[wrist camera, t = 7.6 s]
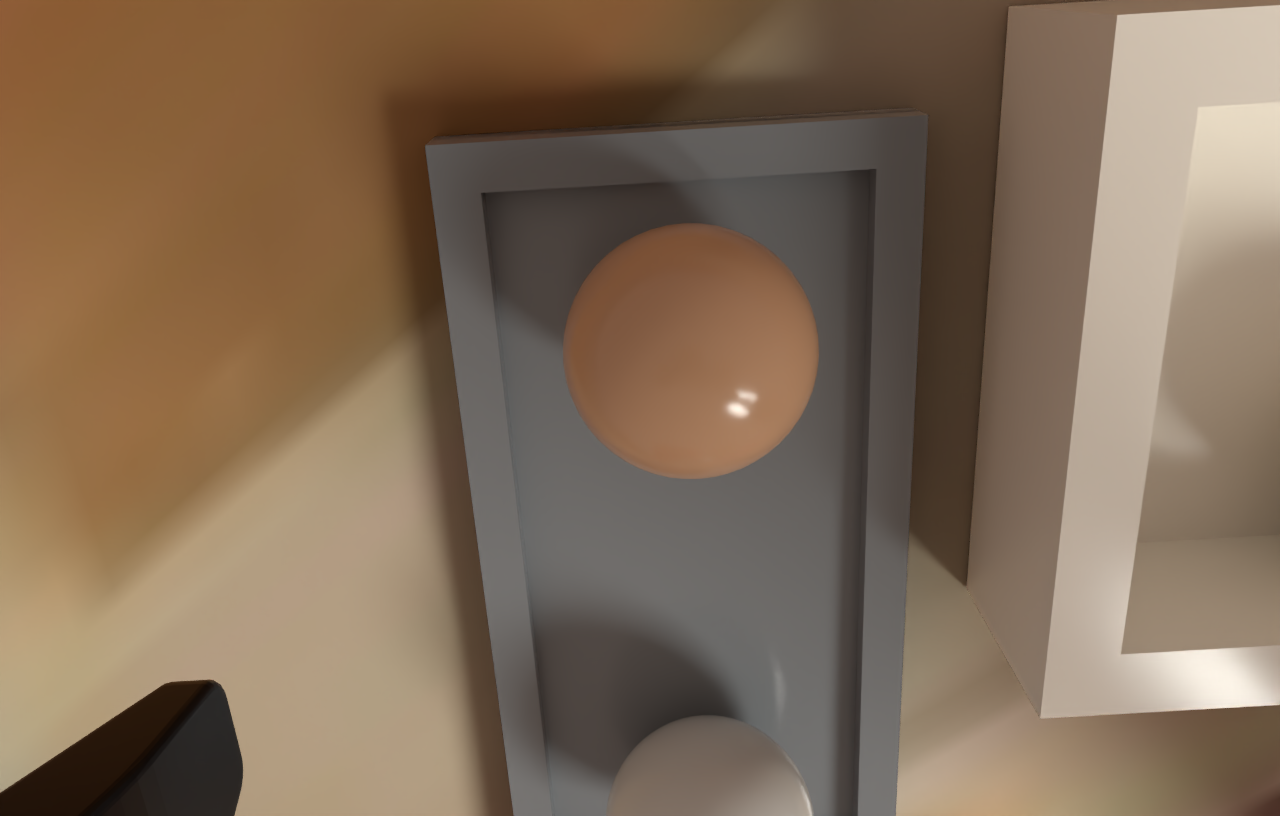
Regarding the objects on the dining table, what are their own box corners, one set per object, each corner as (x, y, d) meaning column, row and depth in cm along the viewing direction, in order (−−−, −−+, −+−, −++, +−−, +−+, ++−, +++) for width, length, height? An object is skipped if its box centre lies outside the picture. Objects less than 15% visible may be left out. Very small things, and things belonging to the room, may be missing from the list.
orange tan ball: (797, 412, 19) (840, 517, 15) (577, 425, 19) (567, 533, 15) (797, 192, 18) (845, 250, 14) (558, 206, 18) (543, 268, 14)
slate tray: (882, 839, 24) (893, 875, 23) (527, 860, 24) (524, 896, 23) (912, 107, 18) (928, 114, 17) (435, 136, 18) (424, 145, 17)
